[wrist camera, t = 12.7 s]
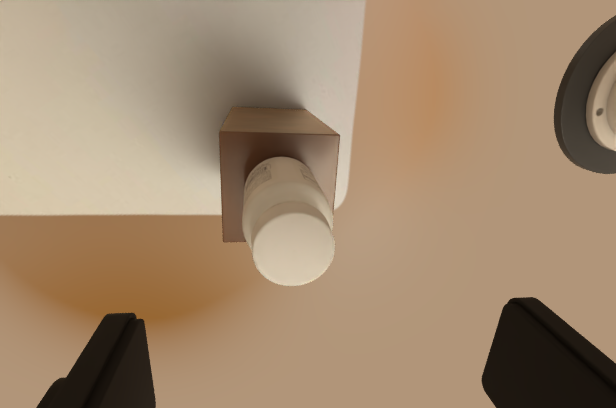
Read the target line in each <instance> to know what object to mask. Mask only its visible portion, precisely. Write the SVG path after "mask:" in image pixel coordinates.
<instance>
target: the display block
mask: <svg viewBox="0 0 616 408" xmlns="http://www.w3.org/2000/svg"><path fill="white" fill-rule="evenodd" d="M339 141H340V135H339V134H338V133H336V132H335V131H334V130H332V129H331V128H330V127H329V126H327V125H326V124H325V123H323V122H322V121H321V120H319V119H318V118H317V117H315V116H314V115H313V114H311V113H310V112H309V111H307V110H303V109H279V108H254V107H232V109H231V111H230V113H229V114H228V116H227V118H226V120H225V122H224V124H223V126H222V127H221V129H220V131H219V145H220V173H221V200H222V226H223V227H222V228H223V242H246V239H245V237H244V233H243V226H242V217H243V203H244V189H245V183H246V180H247V178H248V176H249V174H250V173H251V171H252V170H253V169H254V168H255V167H256V166H257V165H258V164H260V163H261V162H263V161H265V160H267V159H270V158H273V157H289V158H293V159H296V160H298V161H300V162H301V163H303V164H304V165H305V166H306V167H307V168H308V169H309V170H310V171H311V172H312V174H313V176H314V177H315V179H316V181H317V182H318V184H319V186H320V188H321V189H322V191H323V193H324V195H325V196H326V198H327V200H328V202H329V205H330V207H331V210H332V215H333V210H334V199H335V187H336V176H337V164H338V152H339Z"/></svg>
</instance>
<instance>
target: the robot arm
mask: <svg viewBox="0 0 616 408" xmlns="http://www.w3.org/2000/svg"><path fill="white" fill-rule="evenodd" d="M586 122H587V127H588V130H589V132H590V135H591V136H592V138H593V139H594V141H595V142H597V143H598V144H599V145H600V146H602V147H604V148H606V149H609V150H613V151H616V52H615V53H614V54H613V55H612V56H611V57H610V58H609V59H608V60H607V62H606V63H605V64H604V66H603V67H602V68H601V70H600V71H599V73H598V75H597V77H596V78H595V80H594V82H593V84H592V87H591V90H590V92H589V95H588V100H587V104H586ZM482 385H483V388H484V390H485V392H486V394H487V395H488V397H489V398H490V399H491V401H492V402H493V404H494V405H495V407H496V408H616V363H614V362H613V361H612V360H611V359H610V358H608V357H607V356H606V355H605V354H604V353H602V352H601V351H600V350H599V349H597V348H596V347H595V346H594V345H592V344H591V343H590V342H589V341H588V340H587V339H585V338H584V337H583V336H582V335H581V334H579V333H578V332H577V331H576V330H575V329H573V328H572V327H571V326H570V325H568V324H567V323H566V322H565V321H564V320H562V319H561V318H560V317H559V316H558V315H556V314H555V313H554V312H553V311H552V310H550V309H549V308H548V307H547V306H545V305H544V304H543V303H542V302H541V301H539V300H538V299H536V298H533V297H528V298H512V299H510V300H509V302H508V303H507V304H506V305H505V306H504V307H503V310H502V313H501V316H500V319H499V323H498V326H497V329H496V333H495V336H494V339H493V342H492V346H491V349H490V352H489V356H488V359H487V362H486V365H485V369H484V372H483V375H482ZM155 407H156V402H155V394H154V387H153V380H152V373H151V366H150V359H149V352H148V344H147V337H146V330H145V324H144V320H143V319H136V315H135V314H134V313H115V314H107V315H106V316H105V317H104V318H103V320H102V321H101V323H100V325H99V326H98V328H97V329H96V331H95V332H94V334H93V336H92V337H91V339H90V340H89V342H88V344H87V345H86V347H85V348H84V350H83V352H82V353H81V355H80V356H79V358H78V359H77V361H76V363H75V365H74V366H73V368H72V369H71V371H70V372H69V374H68V376H67V377H66V378H59V379H58V380H56V381H55V382H54V383H53V384H52V386H51V387H50V388H49V389H48V391H47V392H46V394H45V396H44V397H43V398H42V400H41V401H40V403H39V404H38V406H37V408H155Z"/></svg>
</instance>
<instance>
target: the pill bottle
mask: <svg viewBox="0 0 616 408" xmlns="http://www.w3.org/2000/svg"><path fill="white" fill-rule="evenodd" d="M242 226H243V233H244V237H245V239H246V242H247V243H248V245H249V247H250V248H251V250H252V257H253V260H254V263H255V266H256V267H257V269H258V270H259V272H260V273H261V274H262V275H263V276H264V277H265V278H267V279H268V280H270V281H272V282H274V283H276V284H280V285H285V286H298V285H303V284H306V283H308V282H311V281H313V280H315V279H317V278H318V277H319V276H321V275H322V274H323V273H324V272H325V271H326V269H327V268H328V267H329V265H330V263H331V262H332V259H333V256H334V252H335V240H334V237H333V234H332V228H333V215H332V210H331V207H330V205H329V202H328V200H327V198H326V196H325V195H324V193H323V191H322V189H321V188H320V186H319V184H318V182H317V181H316V179H315V177H314V176H313V174H312V172H311V171H310V170H309V169H308V168H307V167H306V166H305V165H304V164H303V163H301V162H300V161H298V160H296V159H293V158H289V157H273V158H270V159H267V160H265V161H263V162H261V163H260V164H258V165H257V166H256V167H255V168H254V169H253V170H252V171H251V173H250V174H249V176H248V178H247V180H246V183H245V189H244V203H243V217H242Z"/></svg>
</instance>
